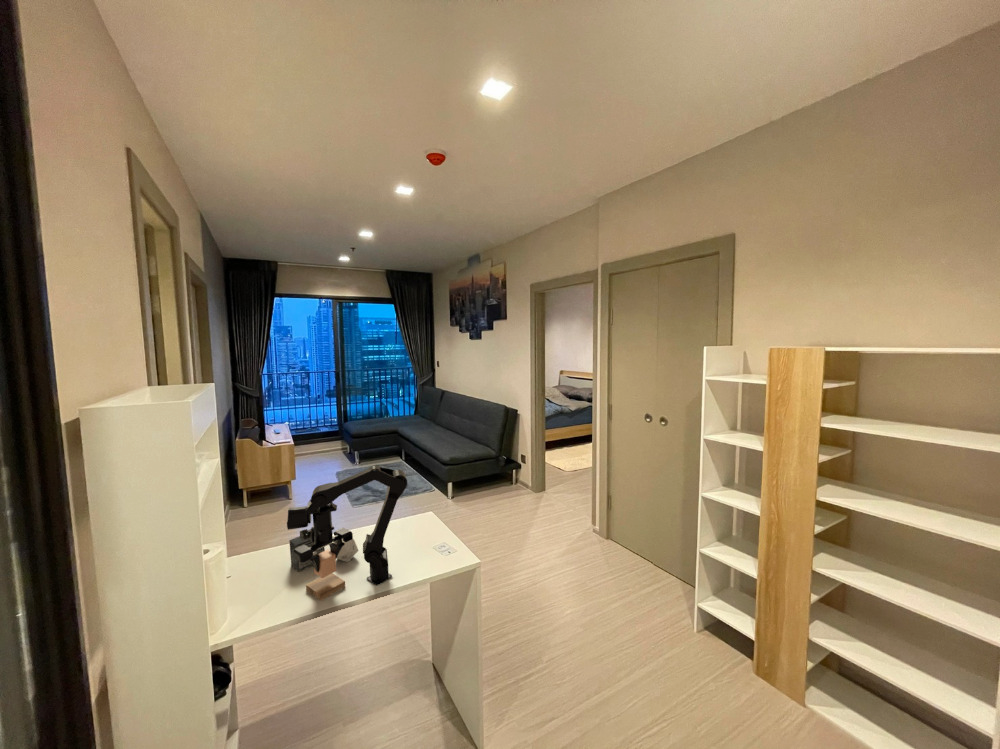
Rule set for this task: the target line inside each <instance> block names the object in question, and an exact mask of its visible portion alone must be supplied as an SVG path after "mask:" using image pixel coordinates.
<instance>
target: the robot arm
mask: <svg viewBox="0 0 1000 749" xmlns="http://www.w3.org/2000/svg"><path fill="white" fill-rule="evenodd" d="M373 481H376V482H378V483H380V484H382V485H385V486H386V487H387V491H386V496H385V498H384V501H383V504H382V506H381V507H382V508H381V510H380V513H379V516H378V518H377V521H376V524H375V527H374V529H373V531H372V532H371V534H368V533H367V534H366V535H365V540H364V542H363V544H362V554H363V559H364V561H365V562H366V563H367V564H369V576H367V577H366V580H367V581H368V582H371V583H372V584H374V585H376V586H380V585H381V584H383V583H385V582H386V581H388V580H390V579H391V578H392V577H393V574H391V573H389V559H388V551H387V550H388V548H386V547H385V546H384V539H385V535H386V533H387V530H388V527H389V524H390V521H391V518H392V516H393V514H394V510H395V508H396V505H397V502H398V500H399V499H400V497H401V496H402V495H403V493H404V492H405V490H406V488H407V486H408V479H407V476H406V473H405V472H404V470H401V469H396V470H394V469H392V468H388V467H383V466H379V465H372V466H371V467H369V468H367V469H364V470H362V471H360V472H357V473H355V474H353V475H351V476H348V477H346V478H344V479H342V480H339V481H336V482H329V483H324V484H319V485H318V486H316V487H315V488H314V489H313V491H312V494H311V497H310V500H309V501H308V502H307V505H306V506H299V507H295V506H294V507H289V508H288V510H287V520H286V528H287V530H288V531H289V530H296V529H302V530H300V531H299V536H300V539H301V540H306V541H308V540H310V542H311V543H314V545H312V546H310V547H307V546H306V545H302V546H300V547H298V548H295V549H294V550H293V552H292V557H293V558H294V559H296V560H297V561H299V562H300V563H303V562H305V561H307V560H311V562H312V564H313V565H312V566H313V569H314V568H315V570H316V571H317V572H319V568H320V556H319V555H318V554H317V550H318V549H321V548H323V547H324V548H325V547H327V546H329V551H330V552H332V553H334V554H335V557H336V559H337V556H338V554H339V552H340V550H341V548H342V546H344V545H345V543H343V542H342V538H343V541H344V542H348V541H350V540H352V539H354V536H353V534H354V533H353V531H351V530H349V529H347V528H345V527H342V528H340V529H337V530H335V526H334V525H333V520H332V518H333V517H332V512H336V511H337V509H338V504H336V503H334V501H335V500H337V499H338V498H339V497H340V496H342V495H344V494H346V493H348V492H350V491H353V490H355V489H357V488H359V487H362V486H364V485H367V484H369V483H371V482H373ZM311 523H312V525H313V526H311V528H310V529H307V528H308V526H309V524H311ZM304 528H306V529H304ZM334 530H335V531H334ZM333 531H334V532H333Z"/></svg>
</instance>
